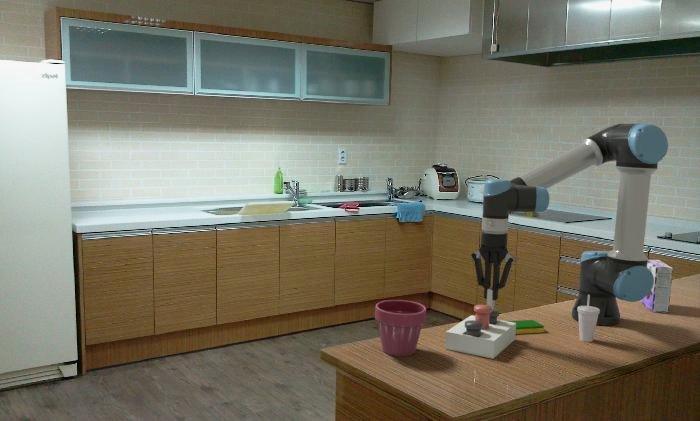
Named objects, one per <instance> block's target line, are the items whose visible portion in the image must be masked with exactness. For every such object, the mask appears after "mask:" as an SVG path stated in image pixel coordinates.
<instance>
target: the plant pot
mask: <svg viewBox="0 0 700 421" xmlns="http://www.w3.org/2000/svg"><path fill="white" fill-rule="evenodd" d="M374 308H375V310H374V319H375V321H377V323H378V330H379V336H380V342H381V348H382V352H384V353H385V354H387V355H390V356H393V355H394V356H395V357H407V356H406V355H409V356H412V355H414V354H415V353H416V351H417V350H416V349H417V346H418V343H419V338H420V335H421V330H422V327H423V324H425V323H426V319H427V308H426V306H425V305H423V304H422V303H419V302H415V301H411V300H403V299H389V300H382V301H379V302H377V303H376V304H375V307H374ZM413 353H414V354H413ZM411 354H412V355H411Z"/></svg>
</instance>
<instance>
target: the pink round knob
mask: <svg viewBox="0 0 700 421" xmlns="http://www.w3.org/2000/svg"><path fill="white" fill-rule="evenodd" d="M473 312H475V315H474V316H475V321H480V322H482V323H483V329H489V318H490V313H491V312H492V307H491V306H488V305H487V304H476V305H473Z"/></svg>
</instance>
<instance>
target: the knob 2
mask: <svg viewBox="0 0 700 421" xmlns="http://www.w3.org/2000/svg"><path fill="white" fill-rule="evenodd" d="M499 316H500V311H499V310H498V309H496V308H494V310H493V311H492V312H491V313H490V318H489V324H493V325H496V324H497V320H498V317H499Z"/></svg>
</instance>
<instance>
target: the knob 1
mask: <svg viewBox="0 0 700 421" xmlns="http://www.w3.org/2000/svg"><path fill="white" fill-rule="evenodd" d="M465 328H466V335H469V336H474V337H480V336H481V329H483V323H482V322H480V321H474V320H469V321H465Z"/></svg>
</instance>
